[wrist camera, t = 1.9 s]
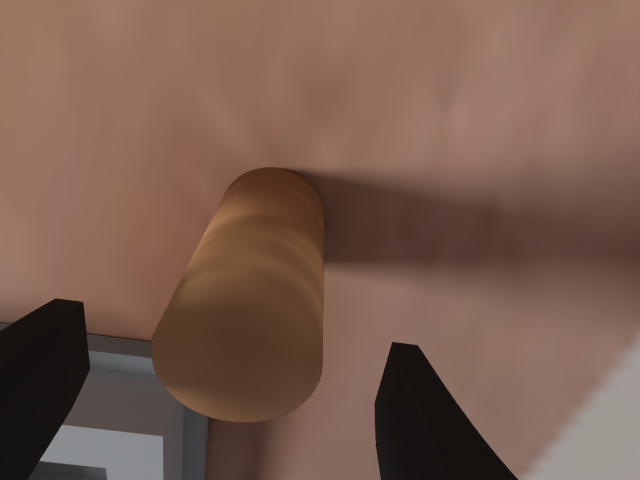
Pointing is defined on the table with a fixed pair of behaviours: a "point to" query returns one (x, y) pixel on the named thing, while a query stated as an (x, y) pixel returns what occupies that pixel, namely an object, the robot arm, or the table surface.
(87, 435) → the socket stand
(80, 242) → the table surface
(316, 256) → the peg
